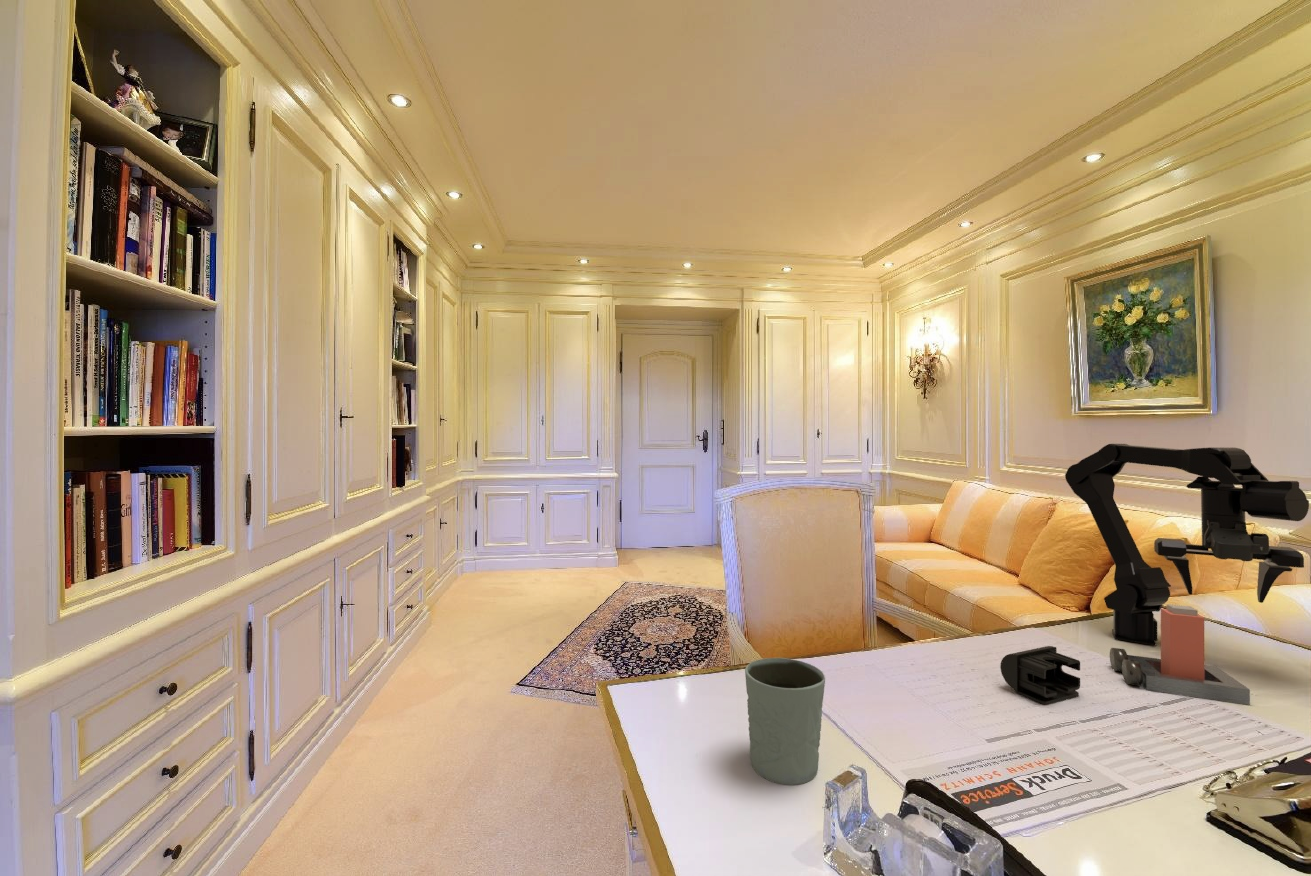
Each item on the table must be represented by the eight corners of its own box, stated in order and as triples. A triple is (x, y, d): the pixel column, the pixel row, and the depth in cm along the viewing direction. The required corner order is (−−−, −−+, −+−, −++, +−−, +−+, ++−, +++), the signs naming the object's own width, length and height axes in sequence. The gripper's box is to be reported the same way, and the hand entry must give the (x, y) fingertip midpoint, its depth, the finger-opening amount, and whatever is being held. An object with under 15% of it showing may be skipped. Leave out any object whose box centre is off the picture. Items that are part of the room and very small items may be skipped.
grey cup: (737, 777, 68) (738, 681, 68) (752, 736, 78) (752, 652, 78) (822, 796, 65) (822, 694, 65) (826, 750, 74) (827, 662, 74)
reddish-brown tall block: (1160, 678, 97) (1160, 602, 97) (1193, 683, 95) (1193, 606, 96) (1170, 687, 94) (1169, 608, 94) (1204, 691, 92) (1204, 611, 92)
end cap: (1038, 678, 97) (1038, 640, 97) (1082, 696, 91) (1082, 655, 91) (999, 688, 94) (999, 648, 94) (1042, 706, 87) (1042, 664, 87)
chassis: (1109, 665, 103) (1109, 644, 103) (1216, 680, 97) (1215, 657, 97) (1130, 687, 94) (1130, 664, 94) (1249, 705, 88) (1249, 680, 88)
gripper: (1162, 515, 101) (1163, 599, 101) (1315, 523, 90) (1317, 618, 90) (1153, 509, 110) (1154, 587, 110) (1291, 516, 99) (1293, 602, 99)
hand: (1224, 598), depth 102 cm, fingers open, 9 cm apart
